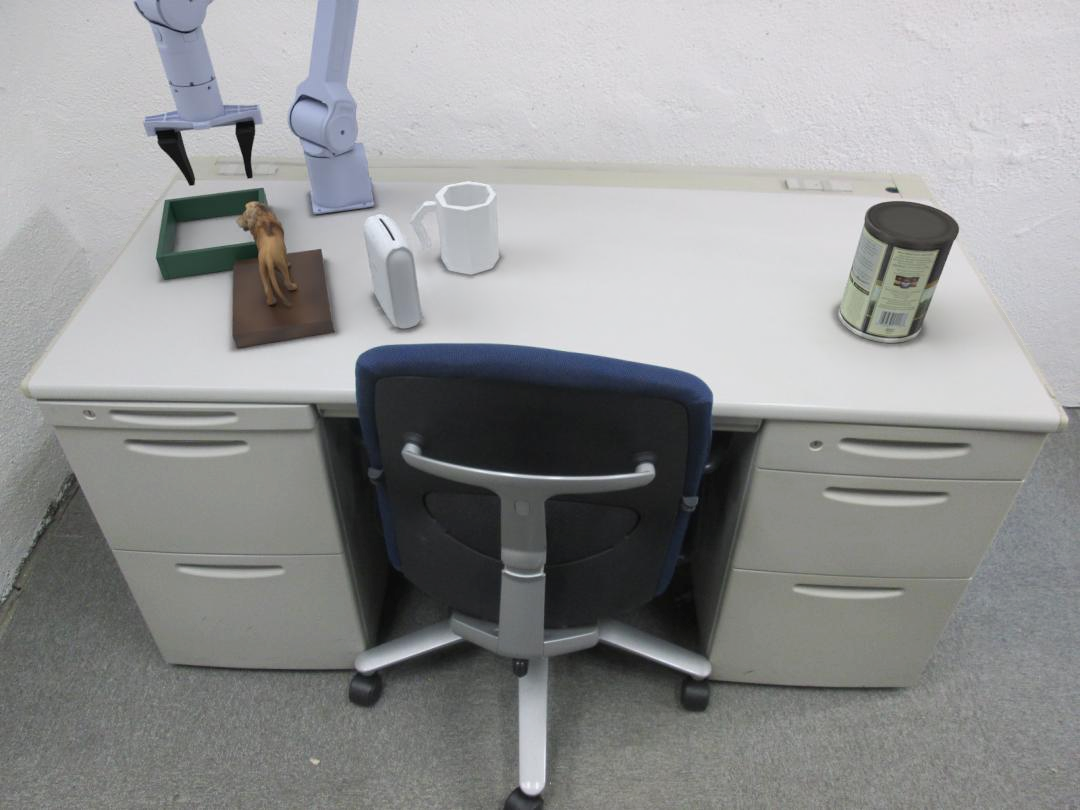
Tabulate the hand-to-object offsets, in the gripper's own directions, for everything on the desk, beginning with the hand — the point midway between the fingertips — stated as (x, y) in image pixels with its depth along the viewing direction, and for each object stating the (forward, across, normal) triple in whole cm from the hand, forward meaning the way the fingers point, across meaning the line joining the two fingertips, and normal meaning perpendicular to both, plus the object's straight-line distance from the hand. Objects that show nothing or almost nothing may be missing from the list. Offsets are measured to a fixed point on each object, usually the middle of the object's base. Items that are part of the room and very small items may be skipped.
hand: (221, 178), depth 109 cm
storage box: (+10, -3, +2) cm, 11 cm away
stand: (+10, +6, -17) cm, 21 cm away
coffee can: (+11, +79, -43) cm, 91 cm away
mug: (+11, +30, -13) cm, 34 cm away
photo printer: (+11, +20, -23) cm, 32 cm away
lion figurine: (+9, +5, -15) cm, 18 cm away
